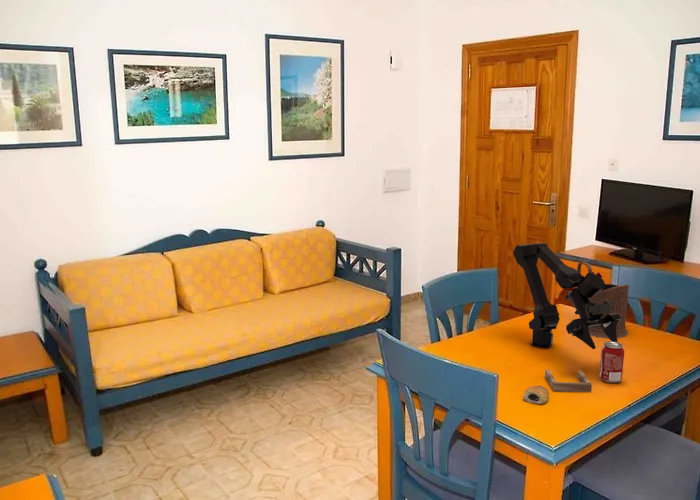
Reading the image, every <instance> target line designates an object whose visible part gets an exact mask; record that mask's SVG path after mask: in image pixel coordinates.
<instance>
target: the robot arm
mask: <svg viewBox="0 0 700 500" xmlns="http://www.w3.org/2000/svg"><path fill="white" fill-rule="evenodd" d="M512 253H513V254H512V255H513V257H514V259H515V262H516V263H517V264H518V265H519V266H520V267H521V268H522V269H523V271H524V275H525V278H526V281H527V283H528V287H529V291H530V294H531V296H532V299H533V303H534V309H533V311H532V315H533V318H532V319H531V320H530V321H529V322H528V327H529V329H530V330H532V336H531V337H532V338H531V343H530V346H532V347H537V348H542V349H543V348H544V349H550V347H551V346H553V344H554V332H553V330H556V329H557V327H558V324H559V321H560V320H561V319H560V313H559V311H558V306H557V305H556V304H555V303H553V304H552V303H551V302H550V301H549V299H548V295H547V293H546V289H545V286H544V283H543V281H542V277H541V275H540V272H539V268H538V261H539V260H540V261H541V262H542V263H543V264H544V265H545V266H546V267H547V268H548V269H549V270H550V271H551V272H552V273H553V275H554V278H555V281H556V283H557V285H558V286H559V287H560V288H561V289H562V290H569V291H566V295H565V298H564V299H565V300H566V301H567V300H570V301H571V302H572V305H573V307H574V308H575V311H574V314H575V315H576V316H577V315H578V316H579V318H575V319H572V320H571V321H570V322H569V323H568V324H566V326H565V327H566V328H565V330H566V332H567V334H568V335H571V336H573V337H575V338H577V339H579V340H580V341H581V342H583V343H584V344H585V345H587V346H588V347H589V348H591V349H592V350H596V344H595V342H594V340H593V338H592V336H590V334H589V327H590V326H596V325H601V327H603V328H604V329H603V331H604V332H605V334H606V335H607V336H608V338H607V339H609V340H610V341H613V342H618V343H619V341H618V338H617V334H616V326H617V324H618V323H619V321H620V320H621V318H620V316H619V314H617V313H611V310H613V309H614V306H613V304H612V302H611V301H610V300H608V301H603V304H599V305H597V303H595V302H594V303H592V301H591V299H590V298H592V297H594V296H595V295H596V294H597V293H598V292H600V291H601V290H602V289H603V288H604V287H605V284H606V283H605V280H604V278H602V277H600V276H599V275H597V274H595V273H594V271H592V272H588V271H587V273H586V275H582V273H580V272H578V271H577V268H576V269H575V268H574V267H572V266H568V265H567V264H566V263H564V261H562V259H560V257H558V256H557V255H556V254H555V252H553V251H552V250H551V249H550V247H549V246H548V244H547V243H544V242H538V243H527V244H517V245H515V247H514V249H513V251H512ZM571 289H572V290H571ZM605 313H611V314H607V315H606V316H605V317H603V316H604V314H605ZM600 317H603V318H602V319H601V318H600ZM596 322H597V323H596Z"/></svg>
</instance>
